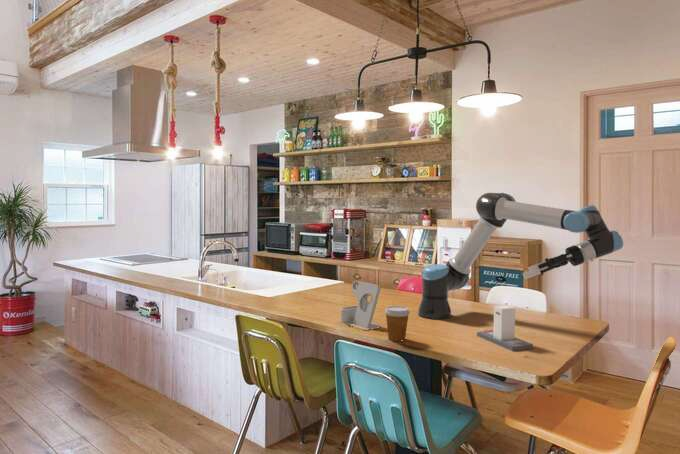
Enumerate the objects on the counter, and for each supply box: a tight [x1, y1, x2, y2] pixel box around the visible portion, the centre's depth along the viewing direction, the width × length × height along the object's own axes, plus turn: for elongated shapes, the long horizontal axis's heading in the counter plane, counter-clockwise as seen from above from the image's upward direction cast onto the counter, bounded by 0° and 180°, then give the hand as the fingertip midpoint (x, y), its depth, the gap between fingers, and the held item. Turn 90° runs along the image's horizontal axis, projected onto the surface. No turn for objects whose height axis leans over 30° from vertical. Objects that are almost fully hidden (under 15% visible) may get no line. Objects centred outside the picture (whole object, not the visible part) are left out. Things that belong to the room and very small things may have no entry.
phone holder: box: [339, 280, 382, 330], centre depth 207 cm, size 17×10×18 cm, turn 40°
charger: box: [493, 304, 516, 341], centre depth 179 cm, size 4×6×13 cm
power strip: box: [476, 328, 534, 352], centre depth 179 cm, size 20×9×4 cm, turn 20°
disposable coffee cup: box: [384, 305, 411, 342], centre depth 186 cm, size 10×10×12 cm
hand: (526, 273), depth 188 cm, fingers open, 13 cm apart
